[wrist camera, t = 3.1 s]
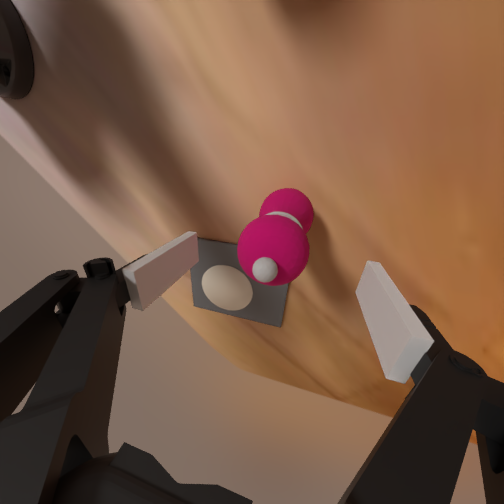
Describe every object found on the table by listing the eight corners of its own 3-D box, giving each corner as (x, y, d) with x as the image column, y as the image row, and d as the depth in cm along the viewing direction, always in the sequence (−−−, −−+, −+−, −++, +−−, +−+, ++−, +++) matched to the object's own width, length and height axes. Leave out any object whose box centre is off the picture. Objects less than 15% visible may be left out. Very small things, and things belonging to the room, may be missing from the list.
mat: (195, 304, 45) (193, 306, 44) (189, 236, 37) (186, 237, 36) (281, 325, 41) (280, 328, 40) (293, 253, 33) (293, 255, 32)
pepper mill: (322, 198, 28) (346, 260, 11) (297, 238, 32) (285, 334, 14) (278, 176, 28) (232, 201, 11) (258, 218, 32) (200, 288, 15)
